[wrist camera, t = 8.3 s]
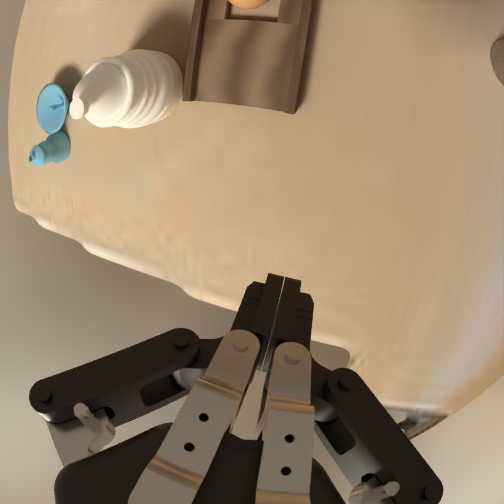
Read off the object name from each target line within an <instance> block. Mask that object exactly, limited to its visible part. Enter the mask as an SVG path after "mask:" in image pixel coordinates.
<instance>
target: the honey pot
mask: <svg viewBox="0 0 504 504" xmlns="http://www.w3.org/2000/svg"><path fill="white" fill-rule="evenodd" d="M182 89H183V76H182V73H181V70H180V67H179V66H178V64H177V63H176V61H175V60H174V59H173V58H172V57H170V56H169V55H168V54H165V53H162V52H159V51H152V50H142V49H134V50H130V51H127V52H124V53H122V54H120V55H118V56H115V57H105V58H102V59H100V60H98V61H96V62H95V63H94V64H92V65H91V67H90V68H89V69H88V70H87V71H86V73H85V75H84V77H83V78H82V79H81V80H80V81H79V83H78V84H77V85H76V87H75V89H74V92H73V100H72V102H71V104H70V114H71V116H72V118H74V119H80V118H82V117H83V116H85V117H86V118H87V119H88V120H89V121H90V122H91V123H92V124H94V125H96V126H98V127H110V126H113V125H114V126H120V127H124V128H136V127H141V126H144V125H148V124H152V123H155V122H158V121H160V120H162V119H164V118H165V117H167V116H168V115H169V114H170V113H171V112H172V111H173V110H174V109H175V107H176V106H177V104H178V102H179V100H180V98H181V94H182Z"/></svg>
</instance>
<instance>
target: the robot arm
mask: <svg viewBox="0 0 504 504" xmlns="http://www.w3.org/2000/svg"><path fill="white" fill-rule="evenodd" d="M491 61H492V65H493V69H494V71H495V73H496V75H497V77H498V79H499V80H500V81H501V83H502V84H503V85H504V39H501V40H497V41H496V42H495V43H494V44H493V46H492V48H491ZM283 280H284V276H280V275H275V274H271V273H268V276H267V280H266V283H265V284H264V283H260V282H256V281H254V282H253V283H252V284H250V285H249V286H248V287H247V289H246V291H245V294H244V297H243V299H242V302H241V304H240V307H239V310H238V312H237V315H236V318H235V320H234V323H233V325H232V328H231V330H230V331H229V332H228V333H227V334H226V335H225V336H223V337H221V338H217V339H199V337H198V336H197V335H196V334H195V333H194V332H193V331H191V330H189V329H185V328H177V329H173V330H170V331H168V332H165V333H163V334H161V335H158V336H155V337H153V338H151V339H148V340H146V341H143V342H141V343H138V344H136V345H133V346H131V347H128V348H126V349H123V350H121V351H118V352H116V353H113V354H110V355H108V356H105V357H103V358H100V359H97V360H94V361H92V362H89V363H86V364H84V365H81V366H78V367H76V368H73V369H70V370H67V371H65V372H62V373H59V374H56V375H53V376H51V377H48V378H45V379H42V380H39V381H37V382H36V383H35V384H34V385H33V386H32V388H31V390H30V394H29V400H30V403H31V405H32V407H33V408H34V409H35V410H36V411H37V412H38V413H39V414H40V415H41V416H42V418H43V419H44V420H45V421H46V422H47V425H48V427H49V431H50V433H51V436H52V439H53V442H54V444H55V447H56V450H57V452H58V455H59V457H60V459H61V462H62V464H63V466H64V468H63V469H62V470H61V471H60V472H59V474H58V476H57V478H56V480H55V486H54V492H55V493H54V494H55V502H56V504H346V503H345V502H344V500H343V498H342V497H341V495H340V494H339V492H338V491H337V489H336V487H335V486H334V484H333V483H332V481H331V479H330V478H329V476H328V475H327V473H326V471H325V470H324V468H323V467H322V466H321V465H320V464H319V463H318V462H317V461H316V460H315V459H314V458H313V457H312V455H313V439H314V431H315V432H316V434H317V435H318V437H319V438H320V440H321V441H322V443H323V444H324V446H325V447H326V449H327V450H328V452H329V453H330V455H331V456H332V458H333V459H334V461H335V462H336V464H337V465H338V466H339V468H340V469H341V471H342V472H343V474H344V475H345V477H346V478H347V479H348V481H349V482H350V484H351V485H352V486H353V490H352V491H351V493H350V496H349V503H350V504H438V503H439V502H440V500H441V498H442V495H443V485H442V483H441V481H440V479H439V478H438V477H437V476H436V474H435V473H434V471H433V470H432V469H431V468H430V466H429V465H428V464H427V462H426V461H425V460H424V458H422V456H421V455H420V453H419V452H418V451H417V450H416V448H415V447H414V445H413V444H412V443H411V442H410V440H409V439H408V438H407V436H406V435H405V434H404V433H403V431H402V430H401V429H400V427H399V426H398V425H397V424H396V422H395V421H394V420H393V418H392V417H391V416H390V415H389V413H388V412H387V411H386V409H385V408H384V407H383V406H382V404H381V403H380V402H379V400H378V399H377V398H376V397H375V395H374V394H373V393H372V391H371V390H370V389H369V388H368V386H367V385H366V384H365V382H364V381H363V380H362V379H361V377H360V376H359V375H358V374H357V373H356V372H354V371H353V370H351V369H348V368H338V369H336V370H334V371H331V370H329V369H327V368H325V367H323V366H321V365H320V364H318V363H317V362H316V361H315V360H314V359H313V357H312V356H311V353H310V339H311V329H312V319H313V309H314V302H313V300H312V298H311V295H310V294H306V293H302V292H300V287H301V280H297V279H292V278H288V277H285V281H284V285H283ZM282 285H283V289H282ZM281 289H282V293H281ZM280 294H281V296H280ZM279 298H280V300H279ZM278 302H279V304H278ZM277 306H278V308H277ZM276 311H277V312H276ZM275 315H276V316H275ZM274 319H275V320H274ZM273 323H274V324H273ZM271 332H272V333H271ZM270 336H271V337H270ZM269 339H270V341H269ZM268 343H269V345H268ZM267 346H268V349H267ZM266 350H267V353H266ZM265 353H266V357H265V361H264V365H263V369H262V371H264V372H267V374H266V378H265V382H264V385H263V388H262V393H261V399H260V406H259V412H258V418H257V424H256V429H255V432H254V436H253V440H243V439H241V438H238V437H237V436H235V435H233V434H231V433H232V430H233V427H234V424H235V421H236V419H237V416H238V414H239V411H240V409H241V406H242V404H243V401H244V399H245V396H246V394H247V391H248V389H249V386H250V384H251V382H252V381H253V378H254V374H255V371H256V370H259V371H260V370H261V367H262V363H263V360H264V356H265ZM188 394H189V395H188ZM186 395H188V397H187V398H186V400H185V402H184V404H183V406H182V408H181V410H180V411H179V413H178V415H177V417H176V419H175V421H174V422H171V423H165V424H161V425H158V426H155V427H153V428H151V429H149V430H147V431H145V432H143V433H141V434H138V435H136V436H134V437H132V438H130V439H128V440H126V441H123V442H121V443H119V444H117V445H115V446H112V447H110V448H108V449H105V450H103V451H101V452H100V450H101V449H102V448H103V447H104V446H105V445H107V444H109V443H110V442H111V441H112V440H113V438H114V436H115V427H117V426H119V425H122V424H124V423H127V422H129V421H132V420H134V419H136V418H138V417H141V416H143V415H145V414H148V413H150V412H152V411H154V410H156V409H159V408H161V407H163V406H165V405H167V404H169V403H171V402H174V401H175V400H178V399H180V398H182V397H184V396H186Z"/></svg>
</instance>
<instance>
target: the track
mask: <svg viewBox="0 0 504 504" xmlns="http://www.w3.org/2000/svg"><path fill="white" fill-rule="evenodd" d="M312 6H313V0H281V2H280V8H279V14H278V21H277V22H267V21H254V20H231V19H228V14H229V8H230V2H229V0H195V5H194V11H193V17H192V23H191V30H190V37H189V44H188V52H187V60H186V68H185V78H184V88H183V99H182V101H205V102H217V103H227V104H236V105H244V106H251V107H258V108H265V109H271V110H277V111H283V112H285V113H289V114H295V111H296V106H297V100H298V94H299V88H300V82H301V76H302V70H303V64H304V58H305V51H306V45H307V39H308V32H309V26H310V19H311V13H312Z"/></svg>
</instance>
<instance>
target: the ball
mask: <svg viewBox="0 0 504 504" xmlns="http://www.w3.org/2000/svg"><path fill="white" fill-rule="evenodd" d="M229 2H230V3H231V4H233V5H234V6H236V7H238V8H242V9H254V8H258V7H260V6H262V5H263V4H264V3H266V2H267V0H229Z"/></svg>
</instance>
